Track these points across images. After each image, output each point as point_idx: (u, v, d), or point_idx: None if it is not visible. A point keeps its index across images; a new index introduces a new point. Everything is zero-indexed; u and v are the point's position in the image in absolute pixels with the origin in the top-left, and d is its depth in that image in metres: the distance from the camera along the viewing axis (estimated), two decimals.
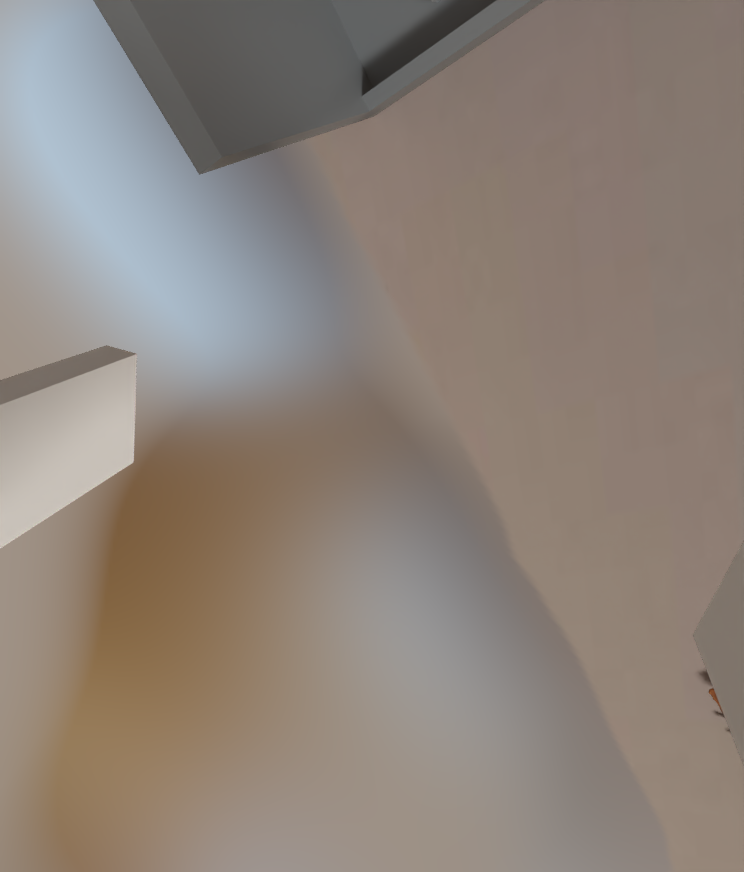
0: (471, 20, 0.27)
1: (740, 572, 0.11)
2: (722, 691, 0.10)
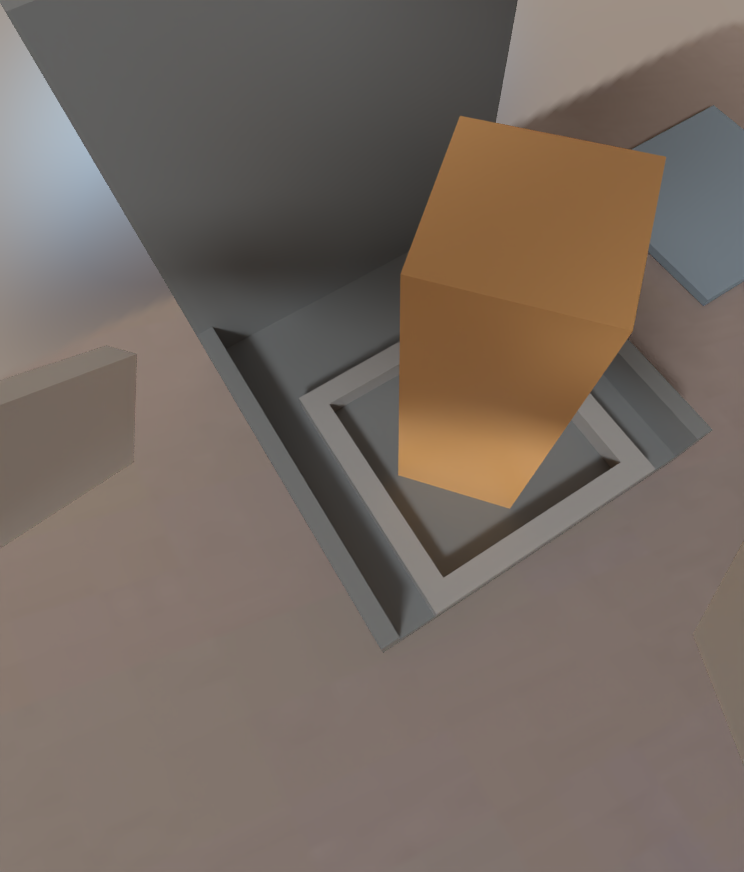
0: (275, 436, 0.24)
1: (740, 572, 0.11)
2: (722, 691, 0.10)
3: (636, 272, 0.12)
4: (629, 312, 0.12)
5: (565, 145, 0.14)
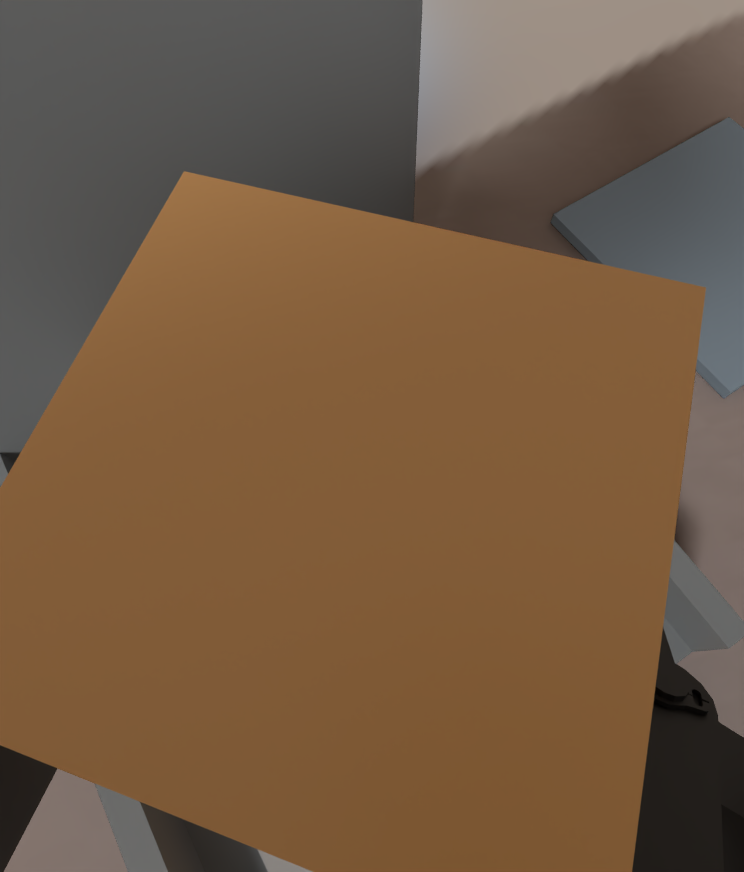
0: None
1: None
2: None
3: (628, 711, 0.04)
4: None
5: (438, 253, 0.05)
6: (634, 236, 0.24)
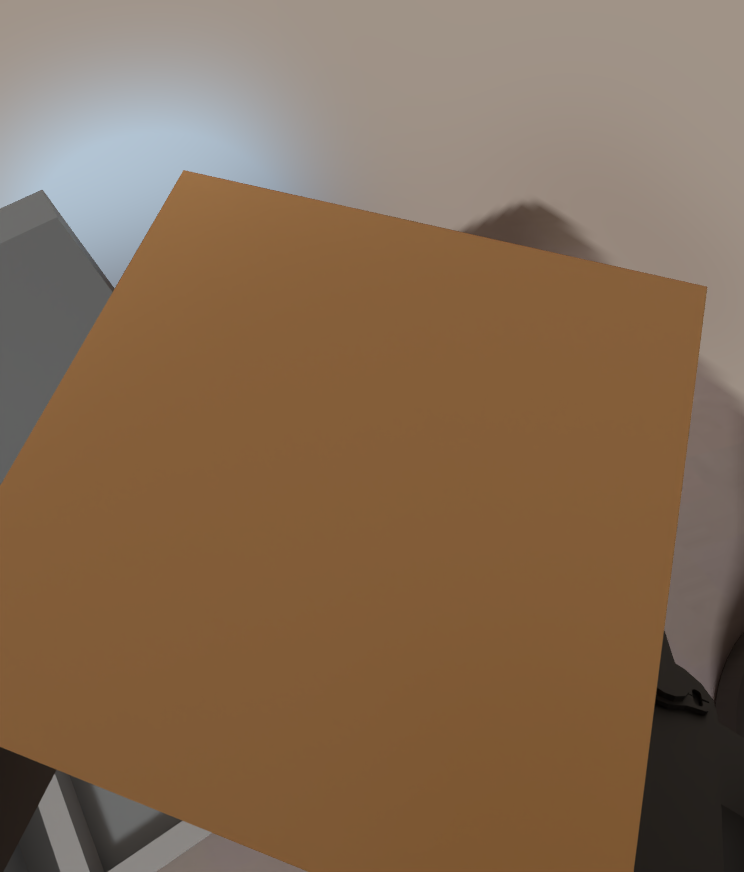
0: None
1: None
2: None
3: (629, 712, 0.04)
4: None
5: (438, 252, 0.05)
6: None
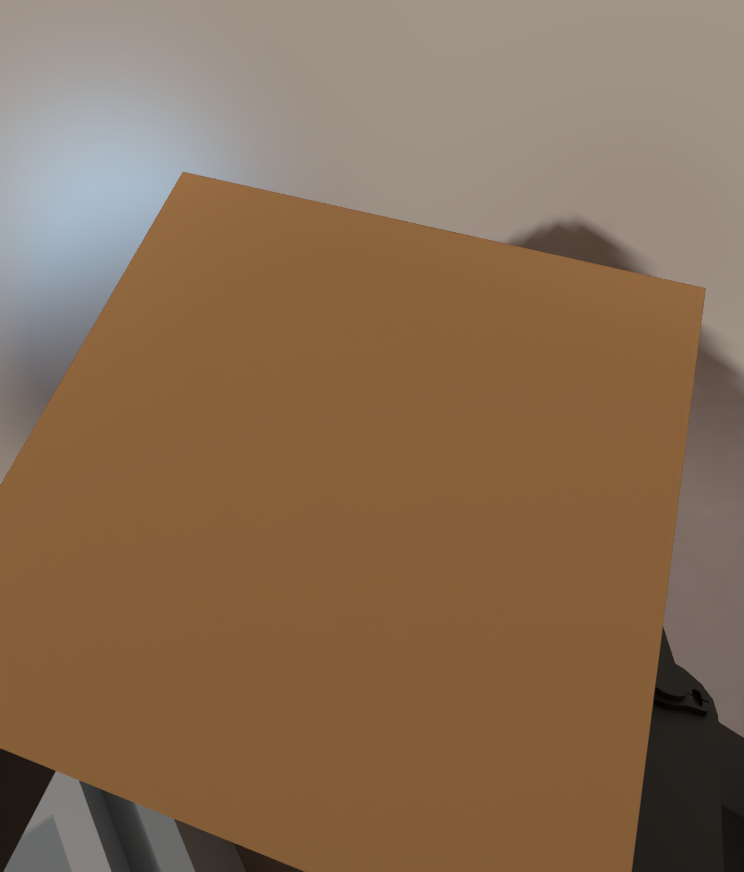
0: None
1: None
2: None
3: (627, 713, 0.04)
4: None
5: (437, 253, 0.05)
6: None
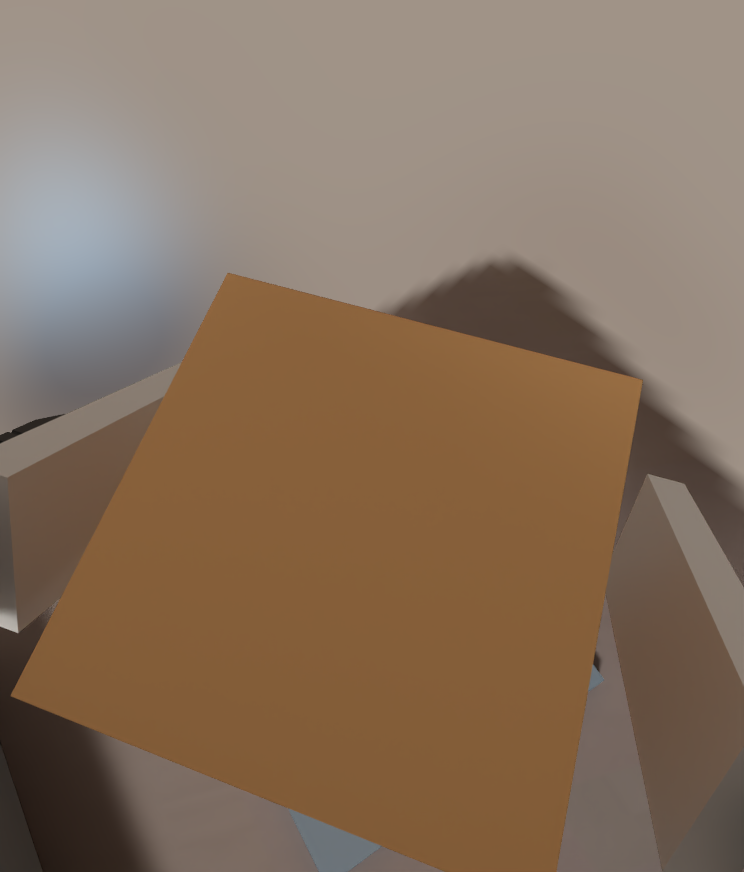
0: None
1: (636, 516, 0.12)
2: (615, 619, 0.12)
3: (565, 713, 0.05)
4: (543, 841, 0.05)
5: (432, 347, 0.07)
6: None
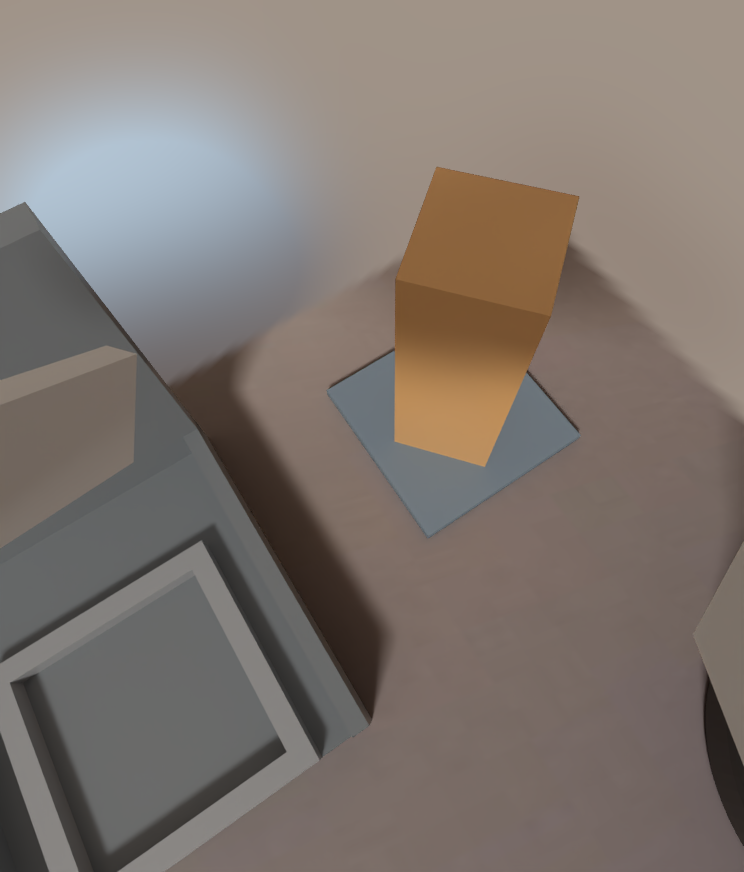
0: None
1: (741, 572, 0.11)
2: (722, 691, 0.10)
3: (554, 277, 0.18)
4: (549, 304, 0.18)
5: (510, 188, 0.20)
6: (382, 409, 0.32)
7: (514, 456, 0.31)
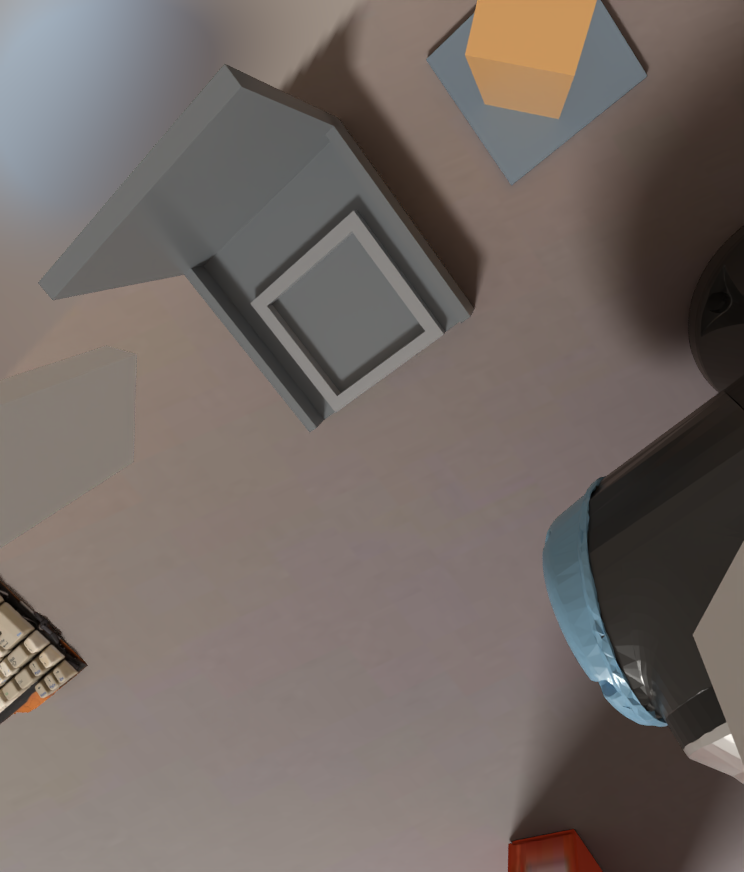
0: (241, 334, 0.46)
1: (740, 572, 0.11)
2: (722, 691, 0.10)
3: (582, 36, 0.25)
4: (575, 63, 0.26)
5: None
6: None
7: (585, 105, 0.38)
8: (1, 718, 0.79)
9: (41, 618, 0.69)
